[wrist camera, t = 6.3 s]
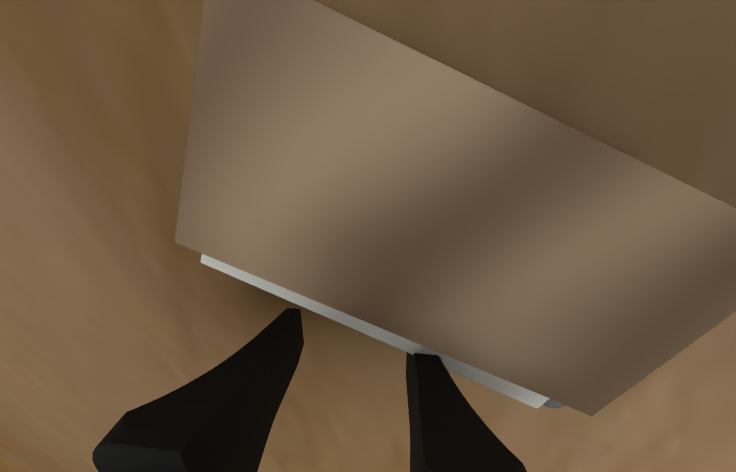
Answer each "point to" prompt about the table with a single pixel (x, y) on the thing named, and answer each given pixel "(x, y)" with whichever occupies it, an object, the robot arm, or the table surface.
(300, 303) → the door
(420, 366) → the robot arm
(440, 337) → the cabinet
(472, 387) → the table surface
